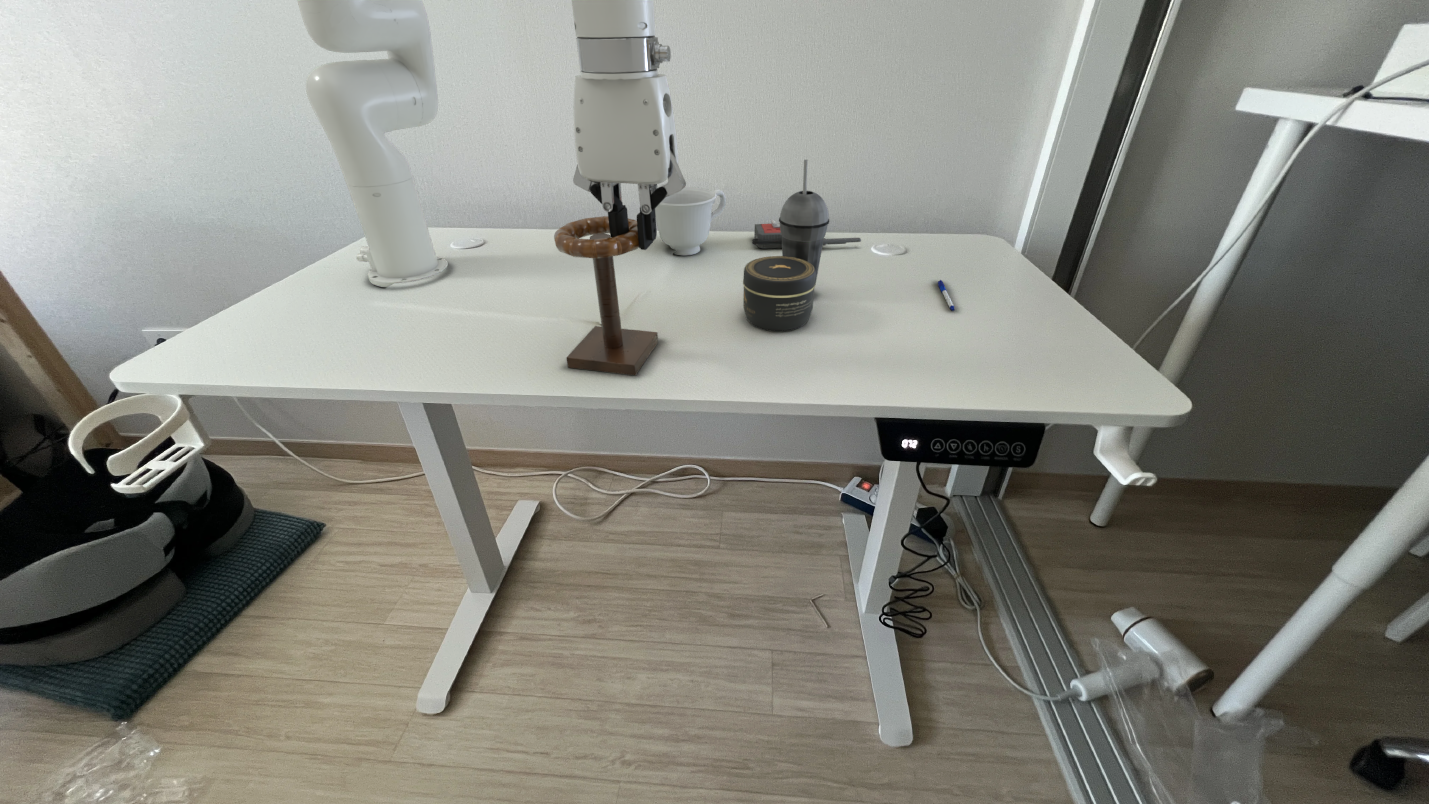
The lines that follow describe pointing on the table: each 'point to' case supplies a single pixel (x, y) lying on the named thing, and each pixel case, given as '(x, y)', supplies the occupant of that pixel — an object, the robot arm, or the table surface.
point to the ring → (595, 248)
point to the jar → (778, 292)
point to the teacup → (687, 218)
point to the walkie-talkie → (772, 236)
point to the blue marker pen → (945, 294)
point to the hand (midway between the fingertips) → (634, 243)
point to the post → (611, 331)
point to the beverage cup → (804, 225)
